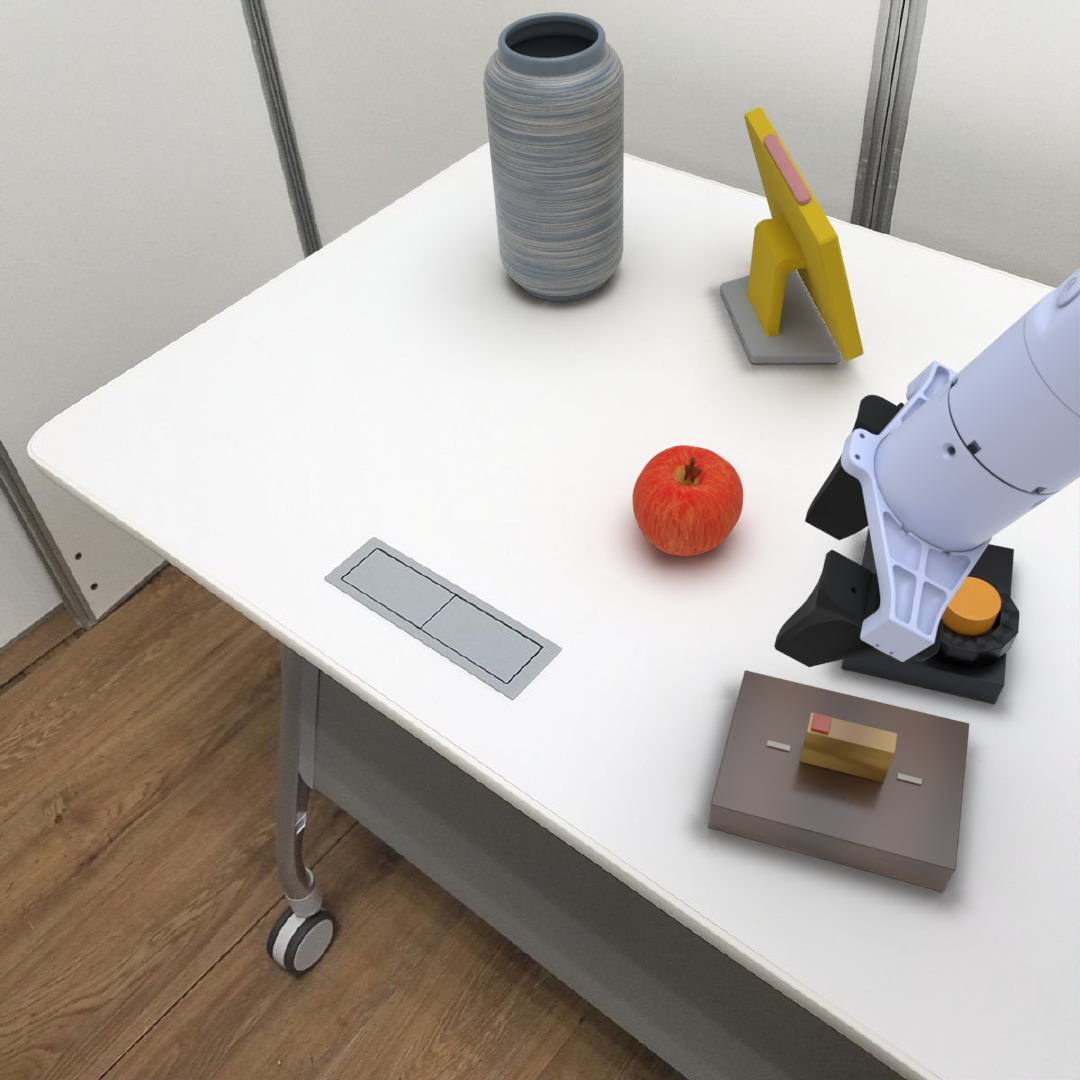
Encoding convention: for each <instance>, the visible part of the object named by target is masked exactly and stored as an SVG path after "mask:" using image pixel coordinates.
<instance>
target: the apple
mask: <svg viewBox="0 0 1080 1080" xmlns="http://www.w3.org/2000/svg"><path fill="white" fill-rule="evenodd" d="M631 499H632V511H633V515H634V519H635V521H636V523H637V526H638V528H639V529H640V531H641V532H642V534H643V535H644V536H645V538H646V539H647V541H649V542H650V544H651V545H653V546H654V547H656V549H658V550H659V551H661V552H663V553H665V554H668V555H672V556H678V557H692V556H697V555H701V554H705V553H707V552H711V551H712V550H713V549H716V548H717V547H718V546H720V545H721V544H722V543H723V542H724V541H725V540H726V539H727V538H728V536H729V535H730V534H731V532H732V530H733V529H734V528H735V527H736V524H737V523H738V522H739V520H740V518H741V515H742V511H743V506H744V488H743V483H742V480H741V477H740V475H739V473H738V472H737V470H736V468H735V467H734V466H733V465H732V464H731V463H730V462H729V461H727V460H726V459H725V458H723V457H722V456H720V455H719V454H718V453H717V452H715V451H713V450H711V449H708V448H705V447H701V446H694V445H687V444H686V445H685V444H681V445H674V446H670V447H668V448H665V449H664V450H661V451H660V452H658V453H657V454H655V455H654V456H653V457H651V458H650V459H649V461H648V462H647V463H646V464H645V465H644V467H643V469H642V470H641V472H640V473H639V475H638V477H637V478H636V480H635V482H634V486H633V490H632V497H631Z"/></svg>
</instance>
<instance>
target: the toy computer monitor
mask: <svg viewBox="0 0 1080 1080" xmlns="http://www.w3.org/2000/svg"><path fill="white" fill-rule="evenodd" d="M743 119H744V122H745V126H746V129H747V133H748V137H749V140H750V144H751V148H752V151H753V154H754V159H755V161H756V165H757V169H758V173H759V175H760V176H759V177H760V180H761V184H762V187H763V190H764V191H763V192H764V194H765V199H766V202H767V205H768V209H769V212H770V216H771V218H764V219H762V220H761V221H759V222H758V223H757V224H756V225H755V227H754V232H753V241H752V249H751V260H750V269H749V275H746V276H743V277H739V278H735V279H733V280H728V281H725V282H722V283H721V284H720V286H719V287H720V288H719V294H720V295H721V298H722V300H723V303H724V304H725V307H726V309H727V312H728V314H729V316H730V318H731V320H732V323H733V324H734V327H735V329H736V332H737V334H738V336H739V339H740V341H741V343H742V346H743V348H744V350H745V353H746V355H747V357H748V359H749V361H750V363H751V364H838V363H839V362H840V359H841V356H842V358H843V360H845V361H846V362H849V361H852V360H854V359H856V358H859V357H861V356H863V355H864V353H865V352H864V348H863V343H862V338H861V334H860V330H859V329H860V328H859V325H858V321H857V316H856V311H855V307H854V303H853V298H852V293H851V289H850V285H849V280H848V276H847V271H846V267H845V262H844V257H843V253H842V248H841V244H840V240H839V235H838V233H837V232H836V230H835V229H834V227H833V225H832V223H831V222H830V220H829V218H828V217H827V215H826V213H825V212H824V210H823V209H822V206H821V205H820V203H819V201H818V200H817V198H816V197H815V195H814V193H813V191H812V190H811V188H810V186H809V184H808V183H807V181H806V180H805V178H804V176H803V175H802V173H801V171H800V170H799V168H798V166H797V165H796V163H795V162H794V160H793V158H792V156H791V155H790V153H789V152H788V150H787V148H786V147H785V145H784V143H783V141H782V140H781V138H780V136H779V134H778V132H777V131H776V129H775V128H774V125H773V124H772V123H771V121H770V119H769V117H768V116H767V114H766V113H765V111H764V109H763V107H761V106H758V107H756V108H754V109H751V110H749V111H747V112H745V113H744V117H743Z"/></svg>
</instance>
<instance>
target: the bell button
mask: <svg viewBox="0 0 1080 1080" xmlns="http://www.w3.org/2000/svg"><path fill="white" fill-rule="evenodd" d="M1000 608H1001V599H1000V596H999V594H998V592H997V591H996V590H995V589H994V587H992V586H991V585H990V584H989V583H987V582H985V581H983V580H981V579H978V578H974V577H966V579H965V580H964V582H963V583H962V585H961V586H960V588H959V589H958V591H957V592H956V594H955V595H954V597H953V598H952V600H951V601H950V603H949V604H948V606H947V608H946V609H945V611H944V613H943V615H942V617H941V619H942V620H943V623H944V624H945V625H946V626H947V627H948V628H949V629H951V630H952V631H954V632H956V633H959V634H962V635H967V636H976V635H981V634H983V633H985V632H987V631H988V630H990V629H991V628H992V626H993V624H994V622H995V620H996V617H997V615H998V613H999V610H1000Z"/></svg>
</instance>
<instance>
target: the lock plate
mask: <svg viewBox="0 0 1080 1080" xmlns="http://www.w3.org/2000/svg"><path fill="white" fill-rule="evenodd" d="M811 713H817V714H821V715H825V716H829V717H832V718H836V719H840V720H844V721H849V722H853V723H857V724H861V725H865V726H869V727H873V728H877V729H881V730H885V731H890V732H894V733H897V734H898V735H897V742H896V749H895V754H894V757H893V759H892V762H891V765H890V767H889V770H888V773H887V775H886V778H885V781H884V783H882V782H878V781H874V780H870V779H867V778H863V777H859V776H855V775H851V774H847V773H843V772H839V771H835V770H831V769H827V768H823V767H820V766H816V765H812V764H808V763H804V762H800V756H801V752H802V747H803V742H804V738H805V734H806V730H807V726H808V722H809V718H810V714H811ZM729 726H730V728H729V731H728V734H727V738H726V742H725V746H724V750H723V754H722V758H721V762H720V766H719V770H718V774H717V778H716V781H715V786H714V790H713V794H712V798H711V801H710V807H709V813H708V821H707V827H708V828H710V829H714V830H717V831H721V832H725V833H728V834H732V835H735V836H739V837H742V838H746V839H749V840H750V839H751V840H752V841H753V840H754V841H757V842H760V843H765V844H768V845H772V846H775V847H778V848H783V849H787V850H789V851H793V852H797V853H800V854H804V855H807V856H808V855H809V856H812V857H815V858H818V859H822V860H826V861H830V862H833V863H837V864H839V865H845V866H848V867H851V868H856V869H859V870H862V871H866V872H870V873H873V874H877V875H881V876H884V877H888V878H891V879H895V880H899V881H902V882H906V883H910V884H912V885H917V886H921V887H924V888H927V889H931V890H935V891H939V892H942V893H943V892H945V890H946V889H947V887H948V885H949V884H950V881H951V880H952V878H953V877H954V874H955V872H956V870H957V861H958V852H959V851H958V849H959V839H960V829H961V818H962V809H963V797H964V787H965V776H966V775H965V774H966V766H967V765H966V764H967V755H968V745H969V735H970V723H969V722H966V721H965V722H964V721H961V720H956V719H952V718H947V717H943V716H940V715H935V714H931V713H927V712H923V711H918V710H914V709H910V708H906V707H902V706H897V705H893V704H889V703H885V702H882V701H877V700H872V699H868V698H864V697H859V696H856V695H851V694H846V693H843V692H838V691H834V690H830V689H825V688H822V687H818V686H814V685H809V684H804V683H801V682H797V681H792V680H788V679H784V678H779V677H775V676H771V675H767V674H763V673H758V672H755V671H751V670H746V669H745V670H744V672H743V676H742V680H741V684H740V688H739V692H738V696H737V699H736V703H735V706H734V711H733V715H732V720H731V722H730V725H729Z"/></svg>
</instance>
